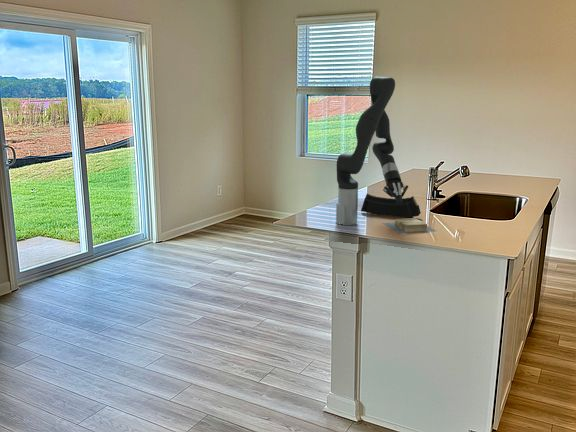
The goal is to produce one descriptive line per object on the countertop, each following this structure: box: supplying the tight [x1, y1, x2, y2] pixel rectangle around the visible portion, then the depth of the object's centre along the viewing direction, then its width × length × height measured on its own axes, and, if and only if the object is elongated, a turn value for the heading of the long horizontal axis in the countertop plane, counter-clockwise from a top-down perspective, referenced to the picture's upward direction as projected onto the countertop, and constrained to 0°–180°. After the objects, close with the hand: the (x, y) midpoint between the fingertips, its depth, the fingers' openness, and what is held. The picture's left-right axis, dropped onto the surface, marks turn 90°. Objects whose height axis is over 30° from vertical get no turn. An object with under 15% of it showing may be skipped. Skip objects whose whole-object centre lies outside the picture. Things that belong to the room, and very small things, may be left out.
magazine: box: [360, 192, 422, 218], centre depth 259 cm, size 17×3×30 cm
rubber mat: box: [382, 221, 437, 234], centre depth 236 cm, size 20×18×1 cm
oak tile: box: [394, 217, 428, 232], centre depth 234 cm, size 3×10×12 cm
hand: (400, 203), depth 243 cm, fingers closed
